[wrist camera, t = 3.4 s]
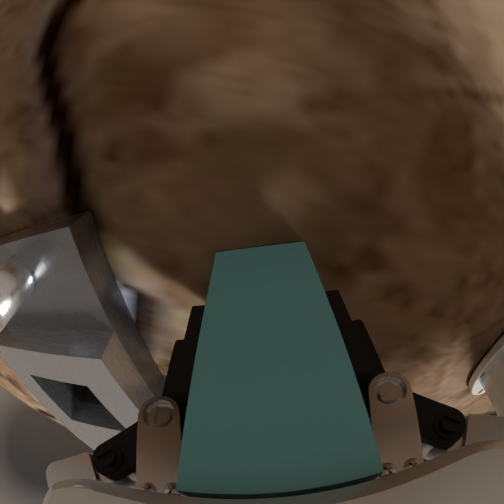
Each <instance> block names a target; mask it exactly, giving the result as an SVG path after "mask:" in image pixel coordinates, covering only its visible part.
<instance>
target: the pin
mask: <svg viewBox="0 0 504 504" xmlns="http://www.w3.org/2000/svg"><path fill="white" fill-rule="evenodd" d="M383 472H384V470H383V466H382V462H381V459H380V455H379V451H378V448H377V444H376V440H375V437H374V433H373V430H372V427H371V423H370V420H369V417H368V413H367V410H366V407H365V404H364V400H363V397H362V394H361V391H360V388H359V385H358V382H357V379H356V376H355V373H354V370H353V367H352V364H351V361H350V358H349V355H348V352H347V350H346V347H345V344H344V341H343V338H342V336H341V333H340V330H339V327H338V325H337V322H336V319H335V317H334V314H333V311H332V309H331V306H330V303H329V301H328V298H327V296H326V293H325V290H324V288H323V285H322V283H321V280H320V278H319V275H318V273H317V270H316V268H315V265H314V263H313V261H312V258H311V256H310V253H309V251H308V249H307V246H306V244H305V241H303V242H294V243H286V244H278V245H270V246H262V247H254V248H245V249H237V250H229V251H221V252H216V255H215V260H214V265H213V269H212V274H211V279H210V284H209V289H208V293H207V298H206V303H205V308H204V314H203V319H202V324H201V329H200V335H199V340H198V345H197V351H196V356H195V362H194V368H193V374H192V379H191V385H190V391H189V398H188V404H187V410H186V417H185V423H184V430H183V437H182V444H181V451H180V458H179V466H178V474H177V482H176V491H178V492H180V493H181V494H183V495H185V496H187V497H197V498H212V499H264V498H279V497H289V496H298V495H305V494H312V493H318V492H324V491H329V490H334V489H339V488H344V487H348V486H352V485H357V484H360V483H364V482H368V481H371V480H374V479H376V478H377V477H378V476H379V475H381V474H382V473H383Z"/></svg>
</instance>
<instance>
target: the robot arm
mask: <svg viewBox="0 0 504 504" xmlns="http://www.w3.org/2000/svg"><path fill="white" fill-rule="evenodd" d="M325 293H326V296H327V298H328V301H329V303H330V306H331V309H332V311H333V314H334V317H335V319H336V322H337V325H338V327H339V330H340V333H341V336H342V338H343V341H344V344H345V347H346V350H347V352H348V355H349V358H350V361H351V364H352V367H353V370H354V373H355V376H356V379H357V382H358V385H359V388H360V391H361V394H362V397H363V400H364V404H365V407H366V410H367V413H368V417H369V420H370V423H371V427H372V430H373V433H374V437H375V440H376V444H377V448H378V451H379V455H380V459H381V462H382V466H383V470H384V472H383V473H382V474H381V475H379V476H378V477H377V478H376V479H374V480H371V481H368V482H364V483H360V484H357V485H352V486H348V487H344V488H339V489H334V490H329V491H324V492H318V493H312V494H305V495H298V496H289V497H279V498H264V499H212V498H197V497H187V496H185V495H183V494H181V493H180V492H178V491H176V482H177V474H178V466H179V458H180V451H181V444H182V437H183V430H184V423H185V417H186V410H187V404H188V398H189V391H190V385H191V379H192V374H193V368H194V362H195V356H196V351H197V345H198V340H199V335H200V329H201V324H202V319H203V314H204V308H205V305H201V306H193V307H192V310H191V314H190V318H189V322H188V326H187V330H186V334H185V338H184V340H177V341H176V342H175V345H174V349H173V353H172V357H171V360H170V364H169V368H168V372H167V376H166V380H165V385H164V389H163V393H162V396H157V397H153V398H151V399H149V400H147V401H146V402H145V403H144V404H142V406H141V408H140V409H139V413H138V421H137V422H136V423H134V424H132V425H131V426H129V427H128V428H126V429H125V430H123V431H121V432H120V433H118V434H117V435H115V436H113V437H112V438H110V439H108V440H107V441H105V442H103V443H102V444H100V445H99V446H98V447H96V449H95V450H94V452H93V453H92V454H90V453H89V452H87V453H84V454H80V455H77V456H74V457H70V458H67V459H64V460H59V461H56V462H53V463H51V464H50V465H49V466H48V468H47V471H46V477H47V482H48V487H49V490H48V492H47V494H46V496H45V499H44V501H43V504H504V335H503V336H502V337H501V338H500V339H499V340H498V341H497V342H496V344H495V345H494V346H493V347H492V348H491V349H490V351H489V352H488V353H487V354H486V356H485V357H484V358H483V360H482V361H481V362H480V364H479V365H478V366H477V368H476V370H475V371H474V373H473V375H472V376H471V378H470V381H469V389H470V391H471V393H472V394H473V395H479V394H482V393H485V392H486V393H487V395H488V397H489V399H490V401H491V403H492V404H493V406H494V408H495V410H496V412H497V414H498V416H488V415H477V414H469V415H468V416H464V415H463V414H462V413H461V412H460V411H459V410H457V409H455V408H453V407H450V406H447V405H444V404H442V403H439V402H436V401H434V400H431V399H429V398H426V397H423V396H421V395H418V394H416V393H413V392H412V389H411V385H410V383H409V381H408V380H407V379H406V378H405V377H404V376H402V375H401V374H398V373H395V372H385V371H384V368H383V366H382V364H381V361H380V359H379V357H378V354H377V352H376V350H375V348H374V345H373V343H372V341H371V339H370V337H369V334H368V332H367V330H366V328H365V326H364V324H363V322H362V320H354V321H352V320H351V318H350V316H349V314H348V311H347V309H346V307H345V304H344V302H343V300H342V298H341V296H340V293H339V291H338V290H330V291H325Z"/></svg>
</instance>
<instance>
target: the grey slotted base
mask: <svg viewBox="0 0 504 504" xmlns="http://www.w3.org/2000/svg"><path fill="white" fill-rule="evenodd" d="M5 325H6V326H5ZM4 326H5V328H4V329H3V330H2V331H1V333H0V355H1V356H2V358H3V359H4V360H5V362H6V363H7V364H8V365H9V367H10V368H11V369H12V371H13V372H14V373H15V374H16V376H17V377H18V378H19V379H20V380H21V381H22V383H23V384H24V385H25V386H26V387H27V388H28V390H29V391H30V392H31V393H32V394H33V395H34V396H35V397H36V398H37V399H38V400H39V401H40V402H41V404H42V405H43V406H44V407H45V408H46V409H47V410H48V411H49V412H50V413H51V414H52V415H54V416H55V417H56V418H57V419H58V420H59V421H60V422H61V423H62V424H63V425H64V426H65V427H67V428H68V429H69V430H70V431H71V432H72V433H73V434H75V435H76V436H77V437H78V438H79V439H81V440H82V441H83V442H84V443H85V444H87V445H88V446H89V447H91V448H92V449H93V450H95V449H96V447H98V446H99V445H100V444H102V443H103V442H105V441H107V440H108V439H110V438H112V437H113V436H115V435H117V434H118V433H120V432H121V431H123V430H125V429H126V428H128V427H129V426H131V425H132V424H134V423H136V422H137V421H138V413H139V409H140V408H141V406H142V404H144V403H145V402H146V401H147V400H149V399H151V398H153V397H157V396H162V393H163V389H164V385H165V379H164V378H163V376H162V374H161V373H160V371H159V369H158V367H157V366H156V364H155V362H154V360H153V358H152V356H151V355H150V353H149V351H148V349H147V347H146V345H145V343H144V341H143V339H142V337H141V335H140V333H139V331H138V329H137V327H136V325H135V323H134V321H133V319H132V317H131V315H130V312H129V310H128V308H127V306H126V304H125V301H124V299H123V297H122V295H121V292H120V290H119V288H118V285H117V283H116V280H115V278H114V275H113V273H112V270H111V268H110V265H109V263H108V260H107V257H106V255H105V252H104V249H103V246H102V243H101V241H100V238H99V235H98V232H97V229H96V226H95V222H94V219H93V216H92V213H91V210H90V211H86V212H82V213H79V214H75V215H71V216H67V217H64V218H60V219H56V220H53V221H49V222H46V223H43V224H39V225H36V226H33V227H29V228H26V229H23V230H20V231H17V232H14V233H11V234H8V235H5V236H2V237H0V328H3V327H4Z"/></svg>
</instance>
